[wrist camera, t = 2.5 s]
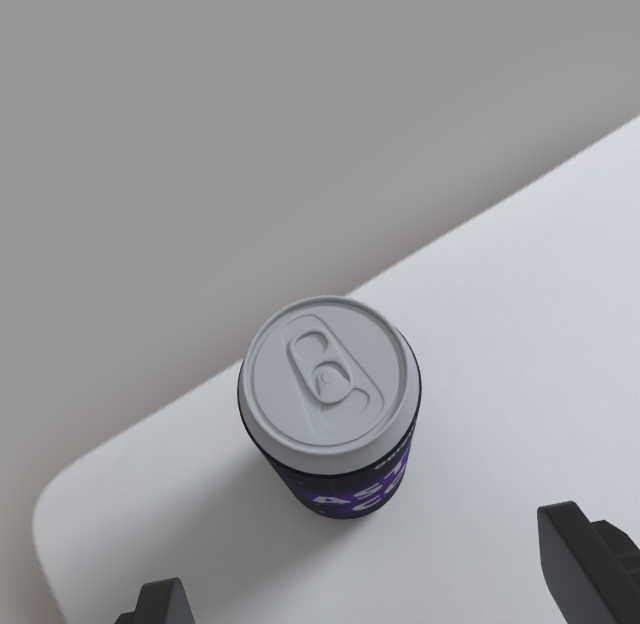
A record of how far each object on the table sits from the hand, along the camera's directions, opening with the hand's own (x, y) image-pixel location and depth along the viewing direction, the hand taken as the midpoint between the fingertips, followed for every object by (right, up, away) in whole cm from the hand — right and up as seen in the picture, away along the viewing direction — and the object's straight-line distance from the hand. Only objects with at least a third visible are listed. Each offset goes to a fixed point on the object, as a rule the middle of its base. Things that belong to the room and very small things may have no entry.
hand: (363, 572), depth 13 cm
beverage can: (0, -1, +15) cm, 15 cm away
